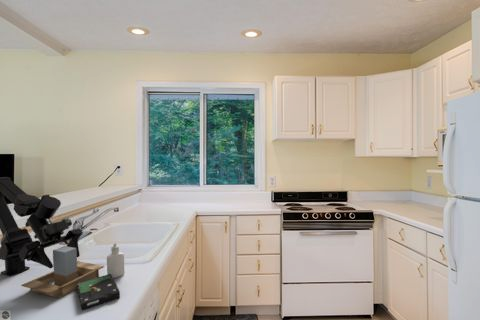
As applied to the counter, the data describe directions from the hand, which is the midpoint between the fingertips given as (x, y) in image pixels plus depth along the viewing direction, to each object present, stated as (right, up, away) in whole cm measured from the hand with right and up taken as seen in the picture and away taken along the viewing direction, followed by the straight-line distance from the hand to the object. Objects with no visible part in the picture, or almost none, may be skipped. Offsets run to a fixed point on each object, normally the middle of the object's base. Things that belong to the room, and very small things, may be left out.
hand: (66, 261), depth 88 cm
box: (0, -8, 0) cm, 8 cm away
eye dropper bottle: (+15, -7, +5) cm, 17 cm away
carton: (0, -8, 0) cm, 8 cm away
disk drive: (+14, -8, -6) cm, 18 cm away
